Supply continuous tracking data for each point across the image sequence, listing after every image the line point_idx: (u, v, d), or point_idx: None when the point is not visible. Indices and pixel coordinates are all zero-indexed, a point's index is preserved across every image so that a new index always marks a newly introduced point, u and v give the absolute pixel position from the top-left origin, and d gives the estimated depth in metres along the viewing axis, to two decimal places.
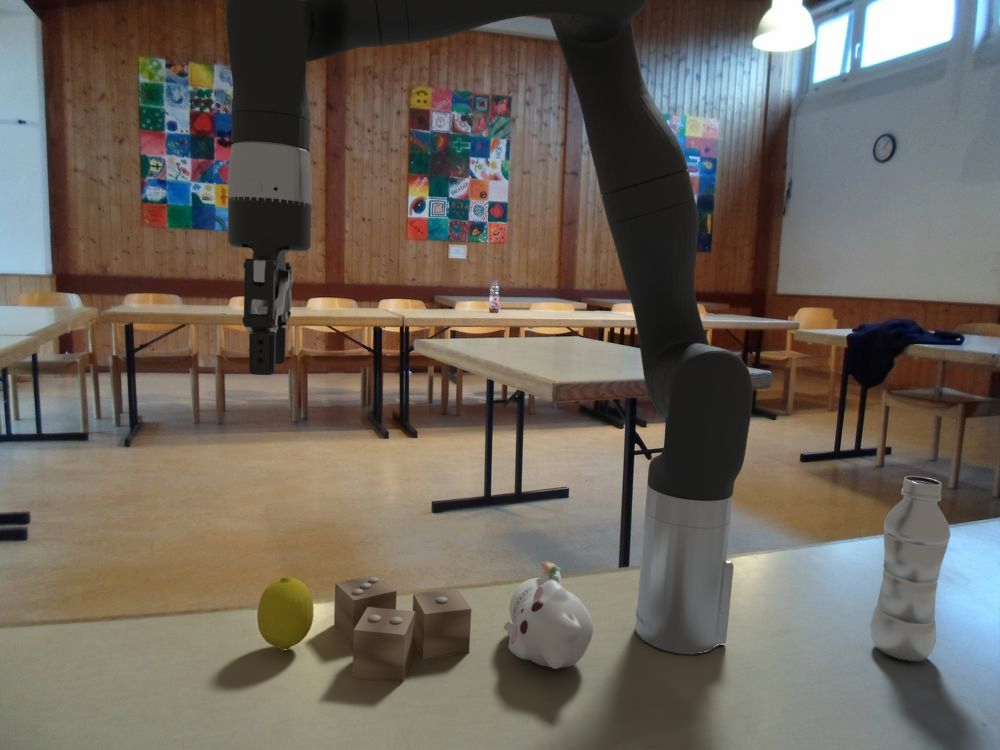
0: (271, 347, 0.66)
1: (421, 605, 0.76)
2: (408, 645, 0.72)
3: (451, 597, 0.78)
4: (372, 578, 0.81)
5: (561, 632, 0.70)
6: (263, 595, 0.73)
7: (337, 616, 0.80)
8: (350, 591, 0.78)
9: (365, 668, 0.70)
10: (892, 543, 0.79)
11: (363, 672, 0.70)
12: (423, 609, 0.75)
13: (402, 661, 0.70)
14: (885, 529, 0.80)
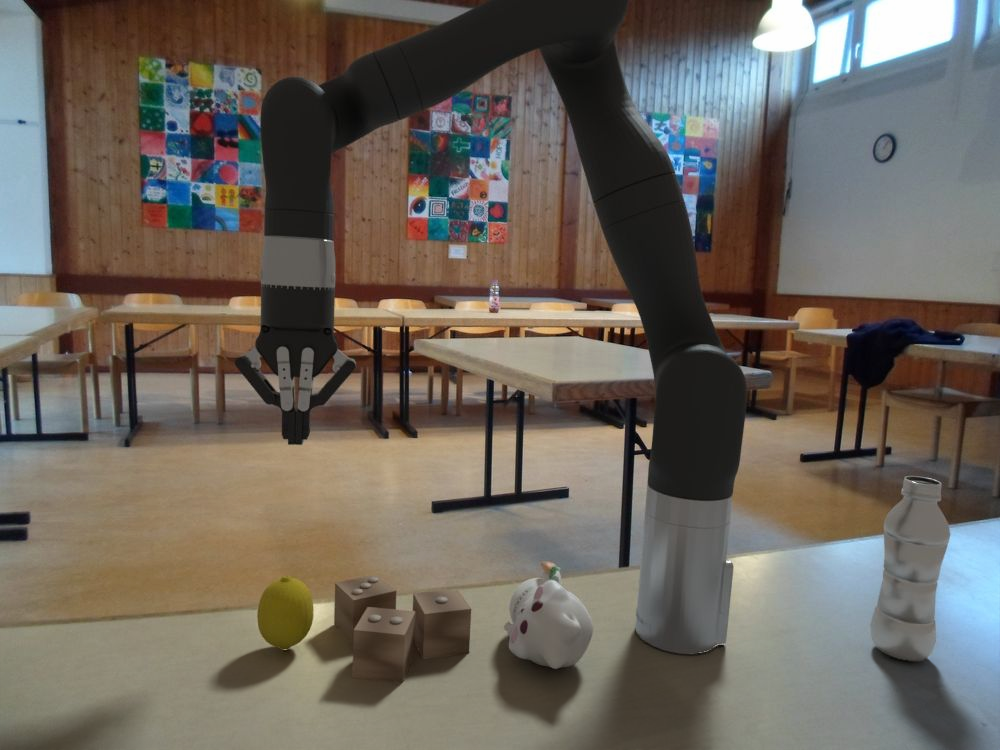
0: None
1: (421, 605, 0.76)
2: (408, 645, 0.72)
3: (451, 597, 0.78)
4: (372, 578, 0.81)
5: (561, 632, 0.70)
6: (263, 595, 0.73)
7: (337, 616, 0.80)
8: (349, 591, 0.78)
9: (365, 668, 0.70)
10: (892, 543, 0.79)
11: (363, 672, 0.70)
12: (423, 609, 0.75)
13: (402, 661, 0.70)
14: (885, 529, 0.80)
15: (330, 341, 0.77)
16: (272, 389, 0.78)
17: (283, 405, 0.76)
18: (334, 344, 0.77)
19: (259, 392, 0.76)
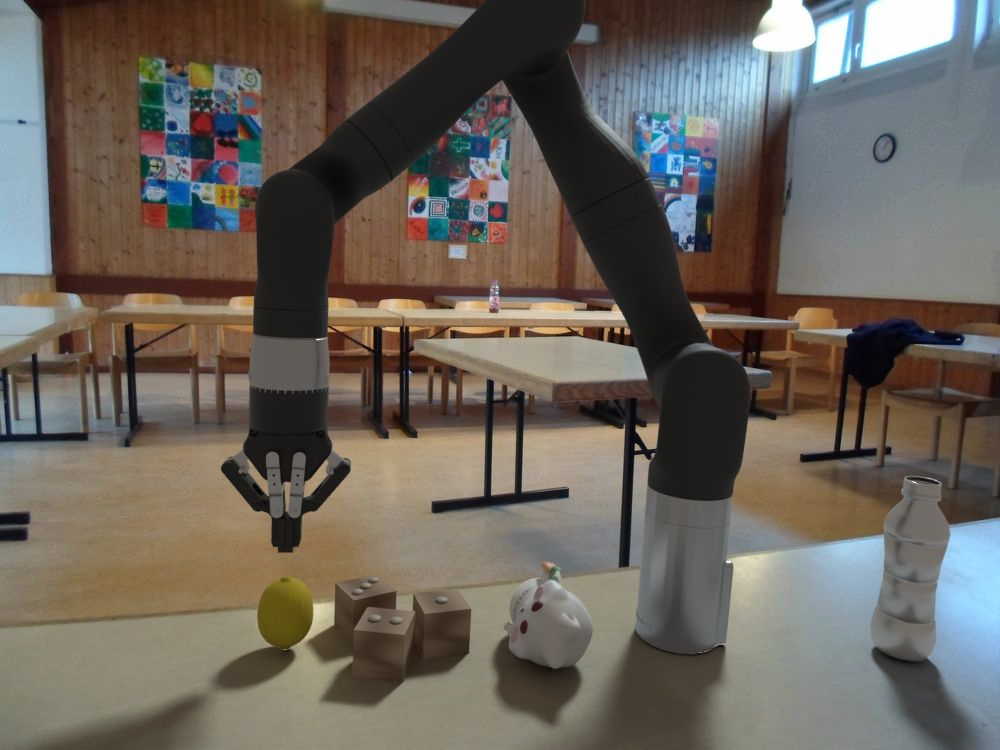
0: None
1: (421, 605, 0.76)
2: (408, 645, 0.72)
3: (451, 597, 0.78)
4: (372, 578, 0.81)
5: (561, 632, 0.70)
6: (263, 595, 0.73)
7: (337, 616, 0.80)
8: (350, 591, 0.78)
9: (365, 668, 0.70)
10: (892, 543, 0.78)
11: (363, 672, 0.70)
12: (423, 609, 0.75)
13: (402, 661, 0.70)
14: (885, 529, 0.80)
15: (323, 444, 0.71)
16: (261, 493, 0.73)
17: (273, 512, 0.71)
18: (328, 446, 0.72)
19: (247, 499, 0.71)
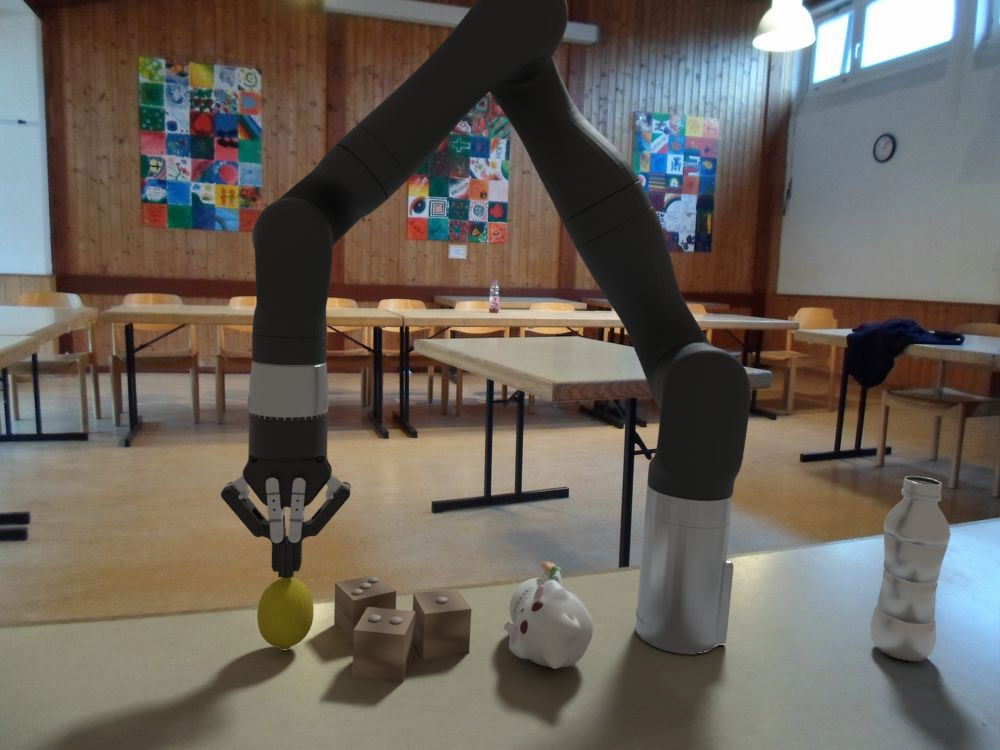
0: None
1: (421, 605, 0.76)
2: (408, 645, 0.72)
3: (451, 597, 0.78)
4: (372, 578, 0.81)
5: (561, 632, 0.70)
6: (263, 595, 0.73)
7: (337, 616, 0.80)
8: (349, 591, 0.78)
9: (365, 668, 0.70)
10: (892, 543, 0.78)
11: (363, 672, 0.70)
12: (423, 609, 0.75)
13: (402, 661, 0.70)
14: (885, 529, 0.80)
15: (323, 469, 0.72)
16: (261, 518, 0.73)
17: (273, 537, 0.72)
18: (327, 471, 0.72)
19: (247, 524, 0.71)
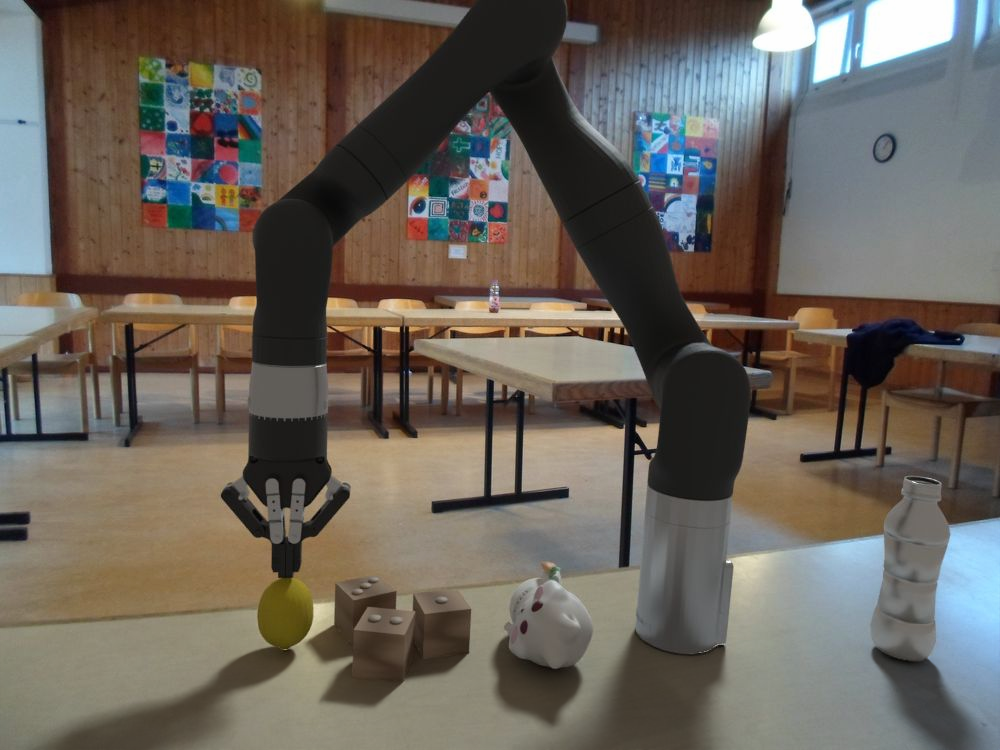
0: None
1: (421, 605, 0.76)
2: (408, 645, 0.72)
3: (451, 597, 0.78)
4: (372, 578, 0.81)
5: (561, 632, 0.70)
6: (263, 595, 0.73)
7: (337, 616, 0.80)
8: (350, 591, 0.78)
9: (365, 668, 0.70)
10: (892, 543, 0.79)
11: (363, 672, 0.70)
12: (423, 609, 0.75)
13: (402, 661, 0.70)
14: (885, 529, 0.80)
15: (323, 469, 0.72)
16: (261, 518, 0.73)
17: (273, 538, 0.72)
18: (327, 472, 0.72)
19: (247, 525, 0.71)
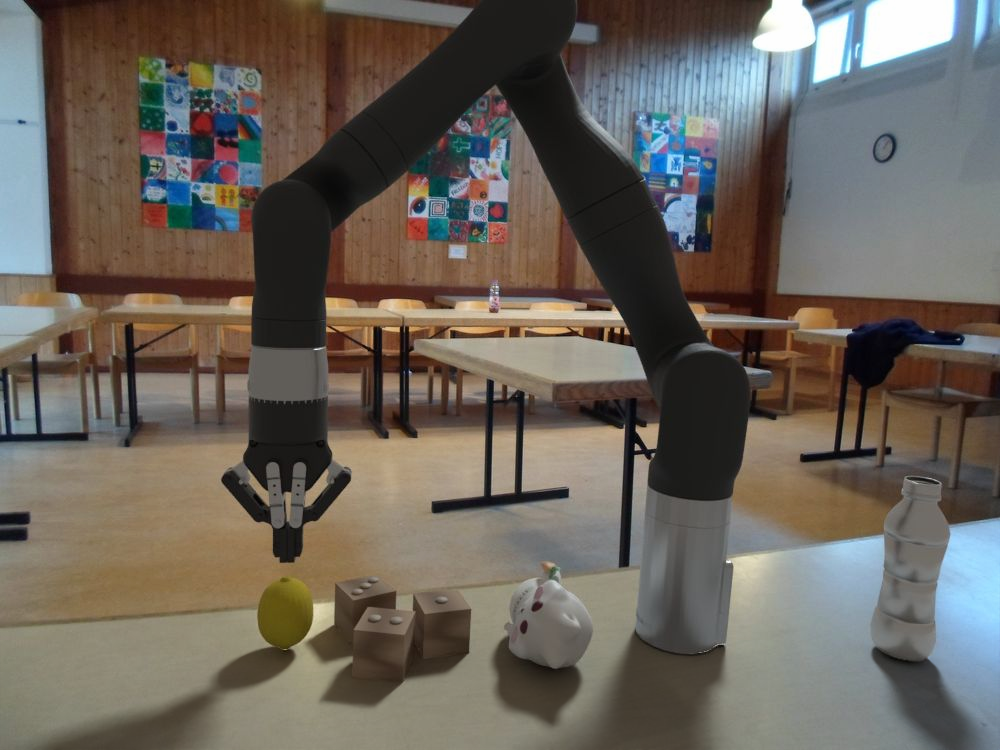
0: None
1: (421, 605, 0.76)
2: (408, 645, 0.72)
3: (451, 597, 0.78)
4: (372, 578, 0.81)
5: (561, 632, 0.70)
6: (263, 595, 0.73)
7: (337, 616, 0.80)
8: (349, 591, 0.78)
9: (364, 668, 0.70)
10: (892, 543, 0.78)
11: (363, 672, 0.70)
12: (423, 609, 0.75)
13: (402, 661, 0.70)
14: (885, 529, 0.80)
15: (323, 453, 0.71)
16: (262, 503, 0.73)
17: (274, 522, 0.71)
18: (328, 456, 0.72)
19: (248, 510, 0.71)
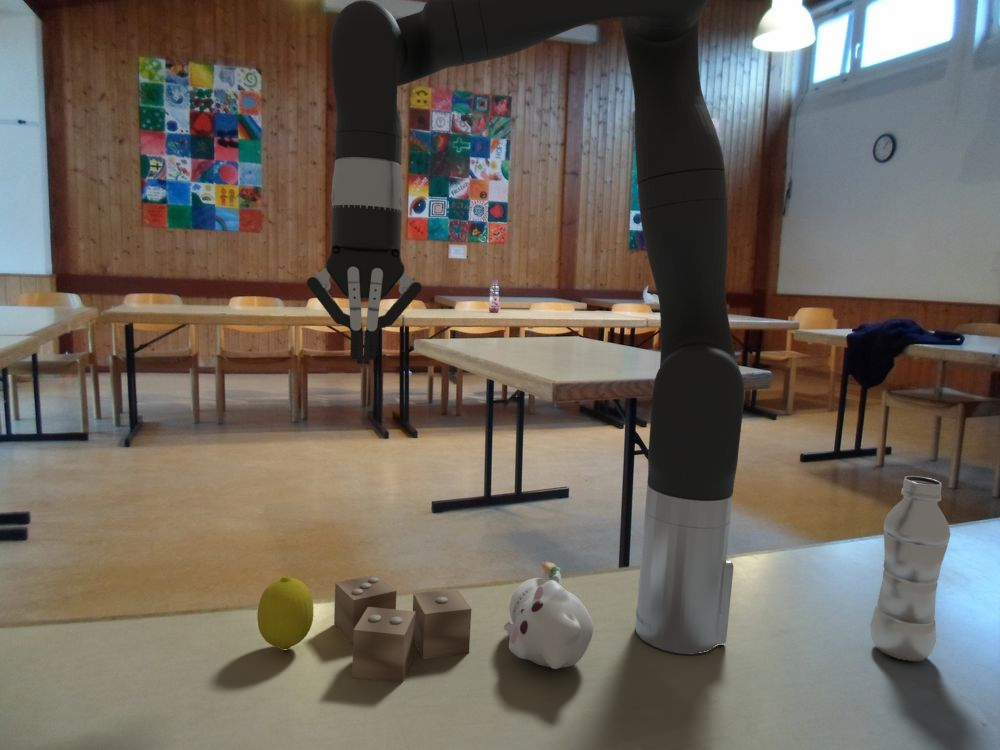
0: None
1: (421, 605, 0.76)
2: (408, 645, 0.72)
3: (451, 597, 0.78)
4: (372, 578, 0.81)
5: (561, 632, 0.70)
6: (263, 595, 0.73)
7: (337, 616, 0.80)
8: (350, 591, 0.78)
9: (364, 668, 0.70)
10: (892, 543, 0.79)
11: (363, 672, 0.70)
12: (423, 609, 0.75)
13: (402, 661, 0.70)
14: (885, 529, 0.80)
15: (398, 263, 0.79)
16: (340, 311, 0.80)
17: (352, 325, 0.79)
18: (401, 266, 0.79)
19: (330, 312, 0.78)
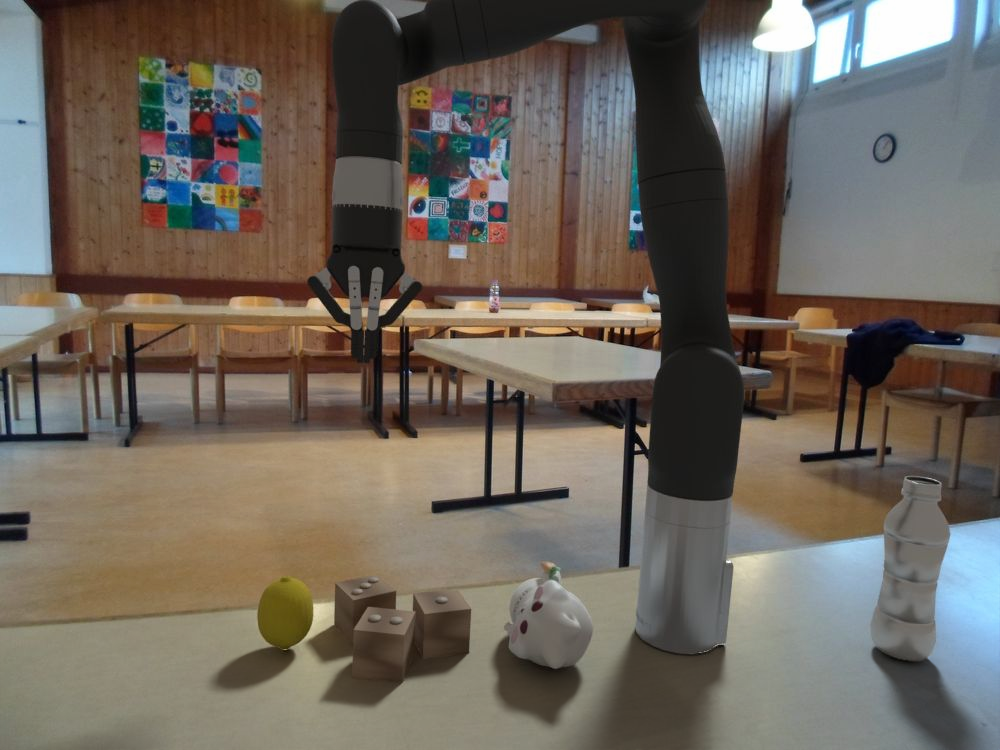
0: None
1: (421, 605, 0.76)
2: (408, 645, 0.72)
3: (451, 597, 0.78)
4: (372, 578, 0.81)
5: (561, 632, 0.70)
6: (263, 595, 0.73)
7: (337, 616, 0.80)
8: (349, 591, 0.78)
9: (364, 668, 0.70)
10: (892, 543, 0.79)
11: (363, 671, 0.70)
12: (423, 609, 0.75)
13: (402, 661, 0.70)
14: (885, 529, 0.80)
15: (398, 262, 0.79)
16: (341, 310, 0.80)
17: (353, 324, 0.79)
18: (402, 265, 0.79)
19: (330, 311, 0.78)
